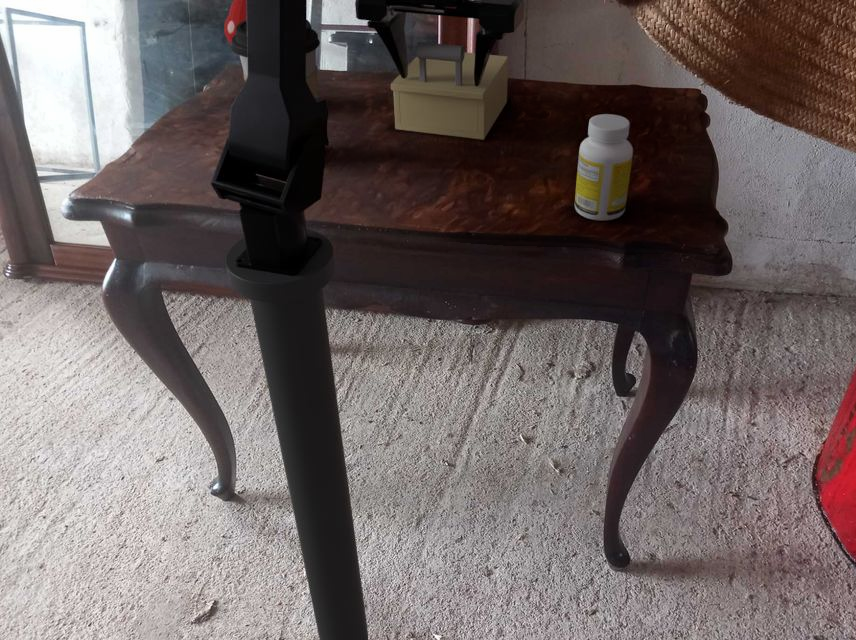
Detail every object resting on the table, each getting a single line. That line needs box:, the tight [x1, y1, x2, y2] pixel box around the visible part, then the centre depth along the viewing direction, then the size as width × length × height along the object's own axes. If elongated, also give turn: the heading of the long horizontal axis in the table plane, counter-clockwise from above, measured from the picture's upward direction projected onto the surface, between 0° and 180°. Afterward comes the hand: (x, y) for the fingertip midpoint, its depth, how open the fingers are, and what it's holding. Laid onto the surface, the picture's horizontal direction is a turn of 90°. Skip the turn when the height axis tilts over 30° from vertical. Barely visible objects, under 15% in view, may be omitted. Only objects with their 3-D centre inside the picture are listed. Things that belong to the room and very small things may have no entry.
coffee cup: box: [230, 19, 321, 99], centre depth 89 cm, size 9×9×15 cm
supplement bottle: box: [574, 113, 634, 222], centre depth 81 cm, size 5×5×10 cm
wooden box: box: [392, 62, 509, 141], centre depth 102 cm, size 13×12×5 cm
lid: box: [390, 41, 509, 100], centre depth 99 cm, size 13×12×5 cm
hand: (440, 81), depth 96 cm, fingers open, 9 cm apart
